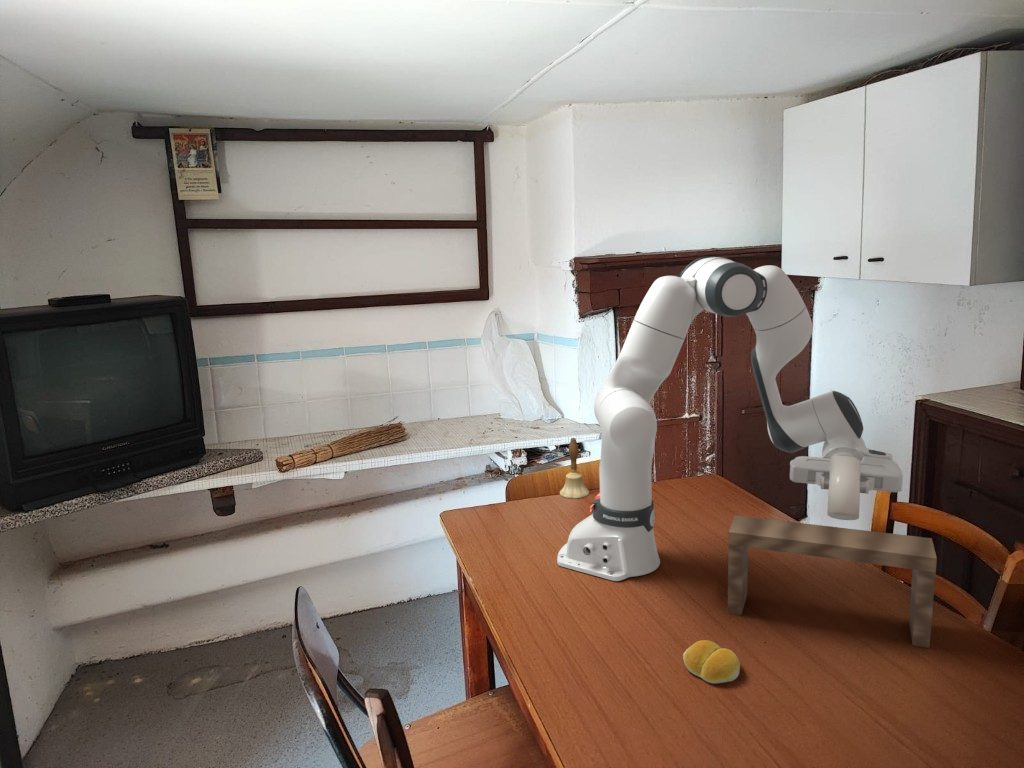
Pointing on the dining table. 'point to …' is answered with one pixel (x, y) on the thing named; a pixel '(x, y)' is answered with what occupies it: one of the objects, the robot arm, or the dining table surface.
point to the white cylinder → (844, 488)
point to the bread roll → (711, 662)
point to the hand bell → (574, 476)
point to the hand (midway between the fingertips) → (844, 487)
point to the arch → (837, 546)
